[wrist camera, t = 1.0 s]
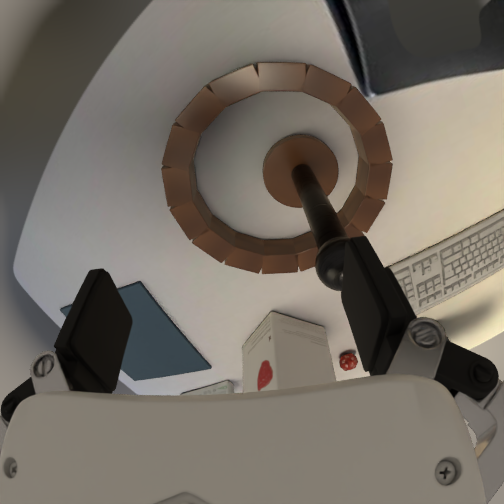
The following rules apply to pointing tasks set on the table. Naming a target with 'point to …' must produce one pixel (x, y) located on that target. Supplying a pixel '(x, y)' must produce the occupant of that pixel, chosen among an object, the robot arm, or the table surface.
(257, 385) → the white product box
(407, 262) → the keyboard
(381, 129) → the hoop
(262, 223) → the table surface
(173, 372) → the mat
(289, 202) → the standing post
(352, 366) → the die
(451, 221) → the table surface
